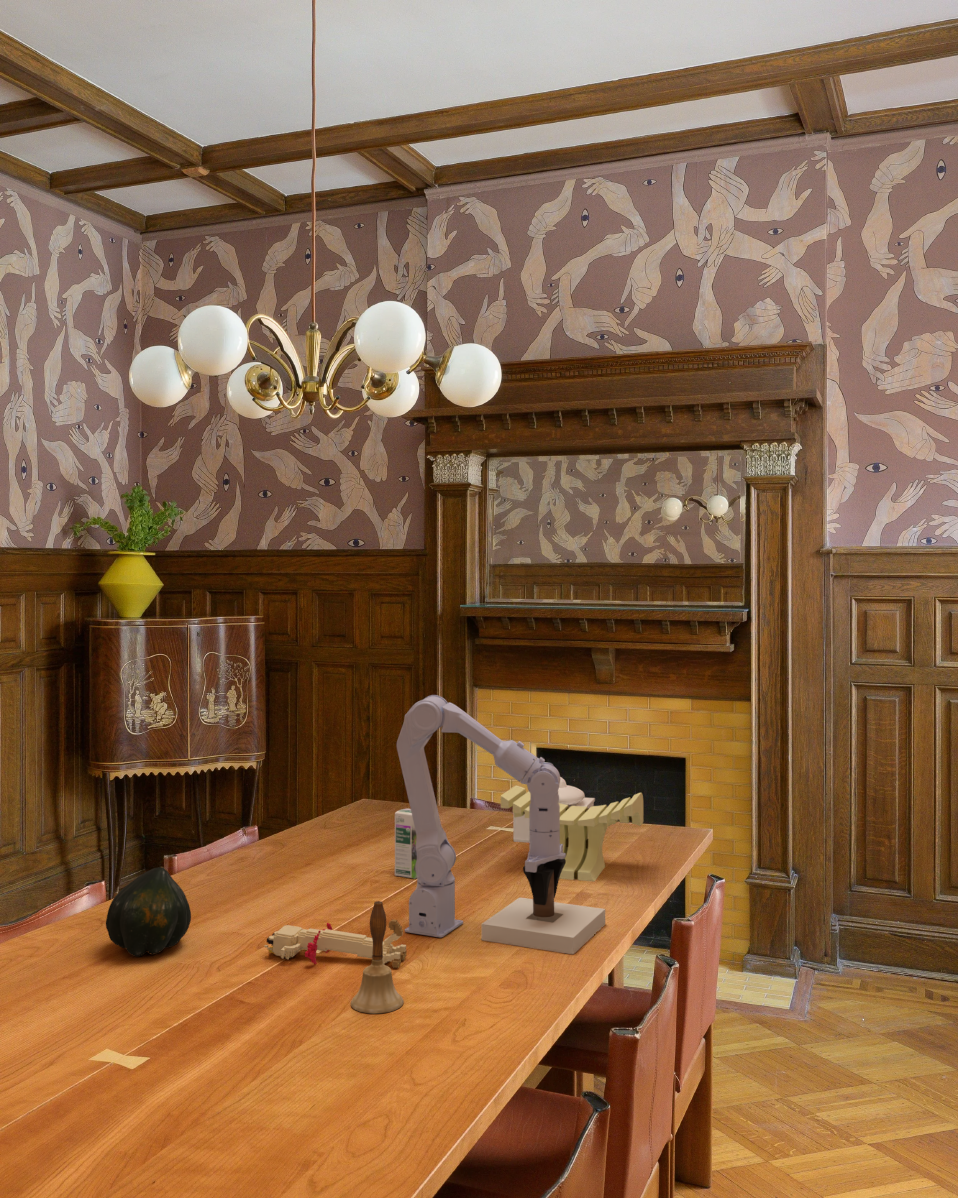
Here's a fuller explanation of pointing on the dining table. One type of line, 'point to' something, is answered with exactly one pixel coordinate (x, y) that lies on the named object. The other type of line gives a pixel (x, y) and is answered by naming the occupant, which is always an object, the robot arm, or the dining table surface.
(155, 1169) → the dining table surface
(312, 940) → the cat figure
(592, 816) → the slatted curved stool
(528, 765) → the robot arm
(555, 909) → the socket board
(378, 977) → the hand bell
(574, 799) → the butter dish
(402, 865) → the syrup box
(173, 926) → the squash
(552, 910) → the peg
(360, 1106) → the dining table surface
